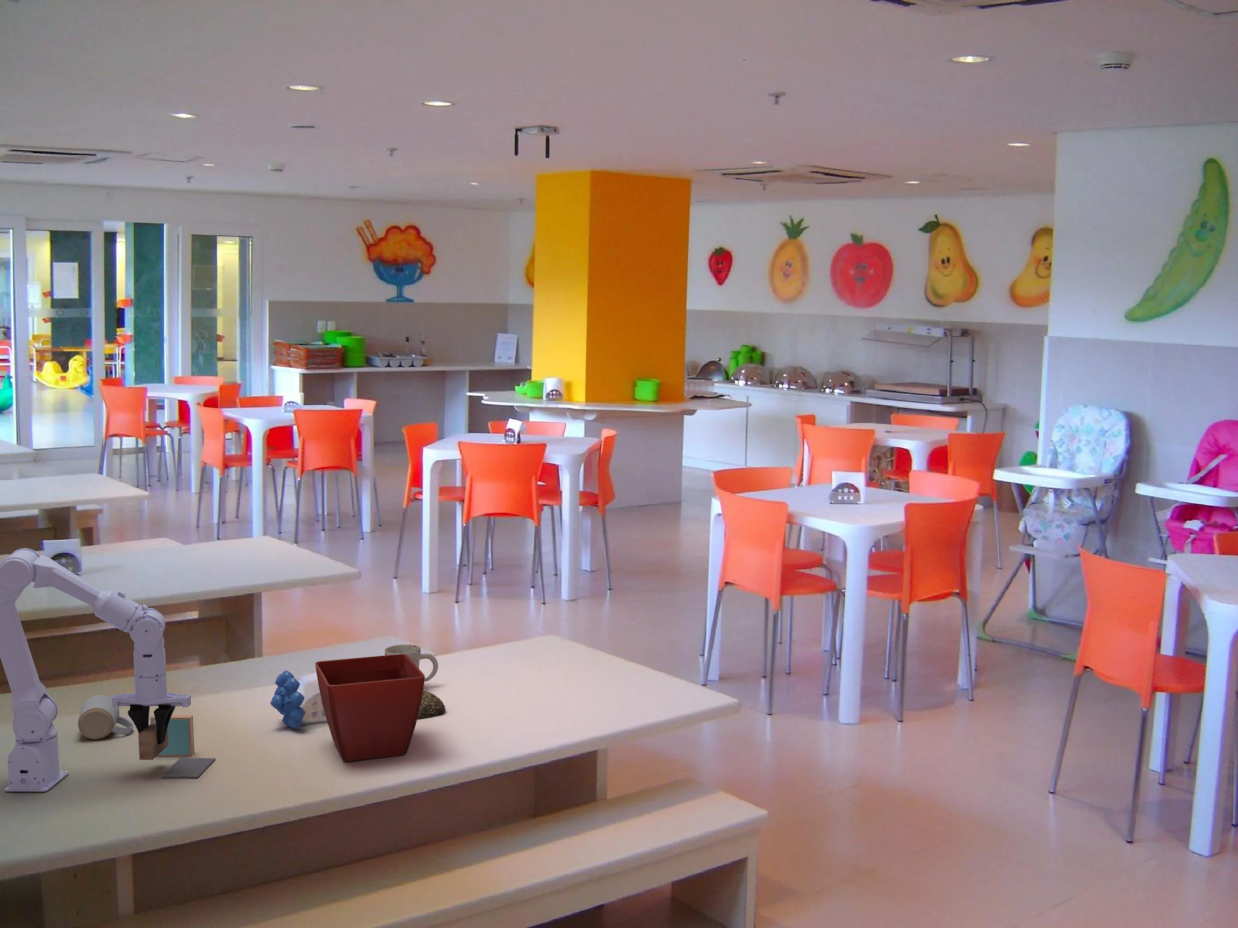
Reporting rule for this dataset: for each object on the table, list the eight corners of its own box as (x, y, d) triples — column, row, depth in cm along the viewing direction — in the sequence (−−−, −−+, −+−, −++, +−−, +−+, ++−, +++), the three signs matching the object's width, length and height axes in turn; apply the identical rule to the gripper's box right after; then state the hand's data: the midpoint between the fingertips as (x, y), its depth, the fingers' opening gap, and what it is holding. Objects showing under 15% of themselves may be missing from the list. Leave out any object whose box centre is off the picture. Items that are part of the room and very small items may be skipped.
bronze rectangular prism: (152, 759, 239) (151, 734, 239) (139, 759, 239) (138, 734, 239) (168, 745, 247) (167, 720, 247) (155, 745, 247) (154, 720, 247)
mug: (381, 687, 298) (380, 646, 297) (433, 681, 304) (432, 640, 302) (390, 697, 291) (389, 655, 290) (443, 690, 296) (442, 648, 295)
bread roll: (449, 717, 277) (449, 695, 277) (393, 723, 273) (393, 701, 272) (435, 700, 289) (435, 679, 289) (382, 706, 285) (381, 685, 284)
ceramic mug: (77, 742, 260) (76, 706, 259) (81, 730, 268) (80, 695, 267) (132, 738, 263) (131, 703, 262) (135, 726, 271) (134, 691, 270)
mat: (197, 778, 240) (197, 776, 240) (161, 778, 240) (161, 776, 240) (215, 759, 250) (215, 757, 250) (180, 759, 250) (180, 757, 250)
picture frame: (191, 756, 252) (189, 717, 251) (151, 756, 252) (149, 717, 251) (194, 753, 254) (192, 715, 253) (155, 753, 254) (153, 714, 253)
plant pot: (408, 728, 269) (406, 651, 267) (427, 758, 251) (426, 675, 249) (316, 739, 262) (314, 660, 260) (330, 770, 244) (327, 686, 242)
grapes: (260, 723, 272) (258, 669, 271) (290, 717, 276) (288, 664, 275) (281, 737, 263) (280, 681, 262) (312, 731, 267) (310, 676, 266)
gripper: (195, 667, 245) (198, 735, 247) (121, 667, 245) (124, 735, 247) (182, 678, 238) (185, 747, 240) (106, 678, 238) (109, 747, 240)
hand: (153, 742), depth 243 cm, fingers closed on bronze rectangular prism, 2 cm apart
